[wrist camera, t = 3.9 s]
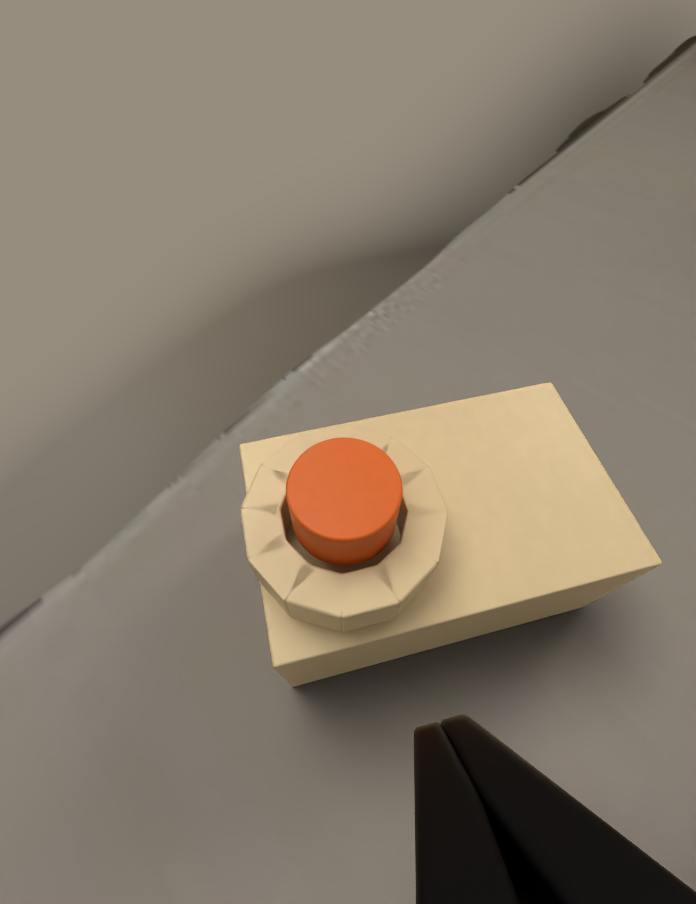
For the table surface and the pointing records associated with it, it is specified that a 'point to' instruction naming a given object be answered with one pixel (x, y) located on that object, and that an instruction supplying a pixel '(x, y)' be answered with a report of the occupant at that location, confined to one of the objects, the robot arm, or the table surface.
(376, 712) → the table surface
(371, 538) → the round orange push button
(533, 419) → the button base
